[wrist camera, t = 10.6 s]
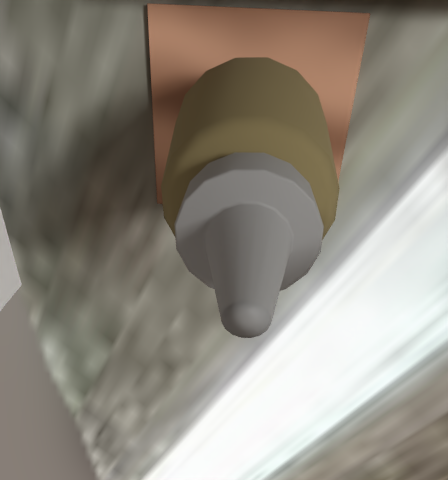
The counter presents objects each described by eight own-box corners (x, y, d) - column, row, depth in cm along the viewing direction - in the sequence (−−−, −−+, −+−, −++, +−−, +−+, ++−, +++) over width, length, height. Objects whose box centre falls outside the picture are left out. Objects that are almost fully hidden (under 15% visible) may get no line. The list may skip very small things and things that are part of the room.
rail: (123, -103, 20) (104, -118, 18) (714, -83, 19) (785, -96, 17) (144, 200, 29) (132, 220, 26) (555, 227, 27) (586, 250, 25)
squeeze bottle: (296, 192, 27) (354, 449, 12) (177, 169, 27) (74, 400, 11) (335, 64, 23) (504, 197, 8) (195, 34, 23) (71, 110, 7)
